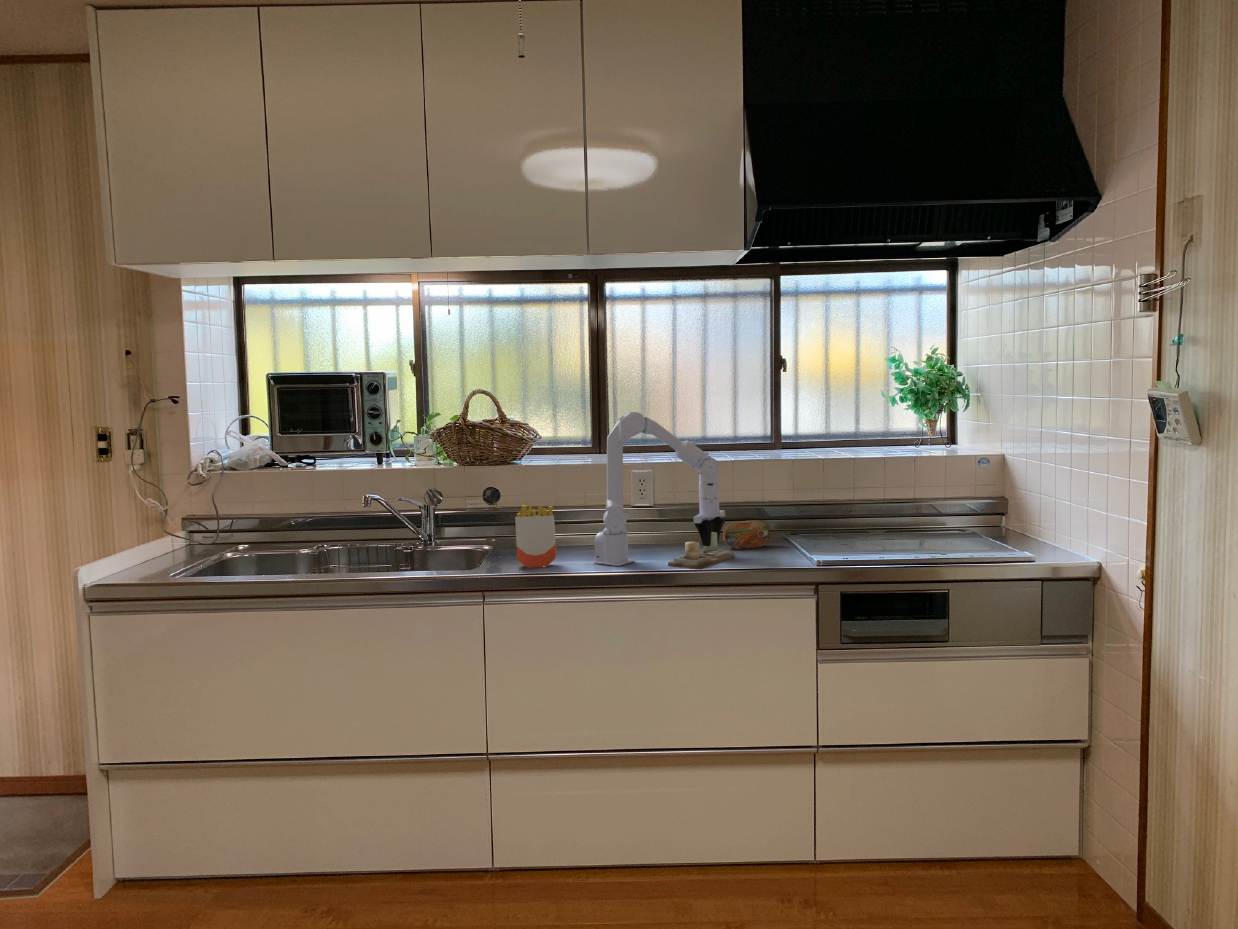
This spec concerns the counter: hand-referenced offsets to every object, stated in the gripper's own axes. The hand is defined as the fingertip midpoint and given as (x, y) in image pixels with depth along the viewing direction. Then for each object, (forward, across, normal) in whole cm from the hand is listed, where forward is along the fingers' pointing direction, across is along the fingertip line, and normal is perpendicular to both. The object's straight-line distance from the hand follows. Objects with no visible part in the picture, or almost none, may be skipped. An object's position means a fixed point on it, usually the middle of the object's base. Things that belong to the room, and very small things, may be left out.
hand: (710, 544), depth 242 cm
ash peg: (+3, -10, 0) cm, 10 cm away
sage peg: (+2, 0, 0) cm, 2 cm away
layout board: (+4, -5, 0) cm, 6 cm away
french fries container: (+4, -32, +39) cm, 51 cm away
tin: (+4, +20, -1) cm, 20 cm away
